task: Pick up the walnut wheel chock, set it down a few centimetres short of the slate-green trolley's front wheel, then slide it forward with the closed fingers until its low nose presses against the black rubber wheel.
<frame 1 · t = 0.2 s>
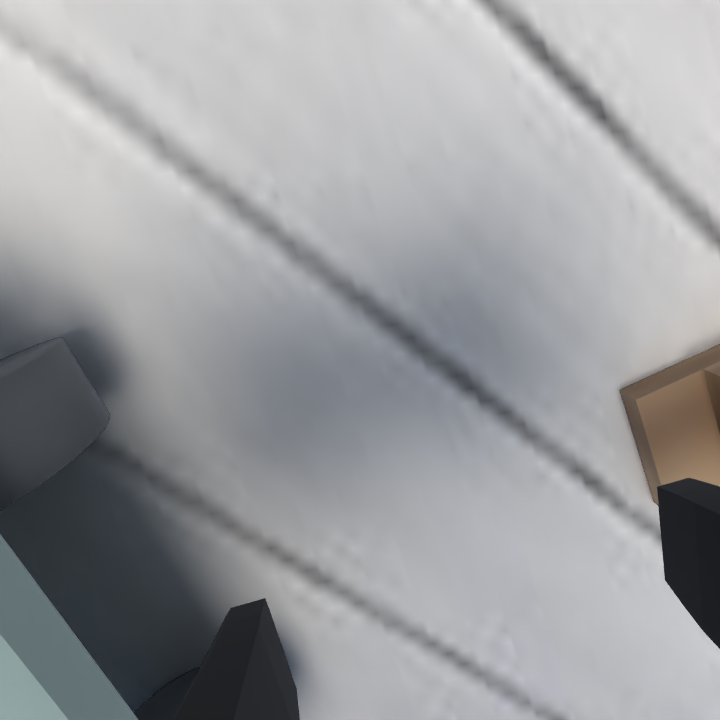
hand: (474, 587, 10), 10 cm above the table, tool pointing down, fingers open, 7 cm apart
trolley: (1, 613, 20), on the table
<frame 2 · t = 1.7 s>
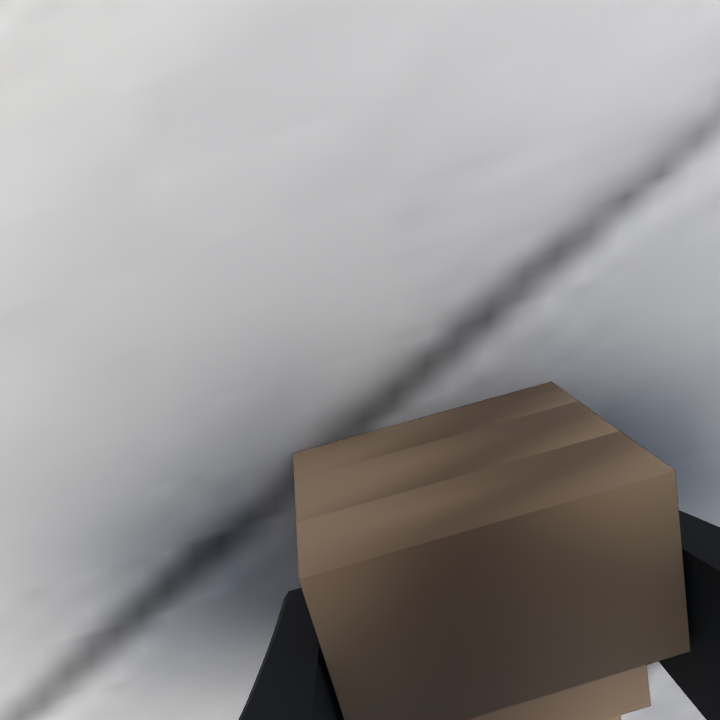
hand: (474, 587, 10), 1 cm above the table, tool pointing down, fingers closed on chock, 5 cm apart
chock: (459, 583, 12), on the table, touching gripper
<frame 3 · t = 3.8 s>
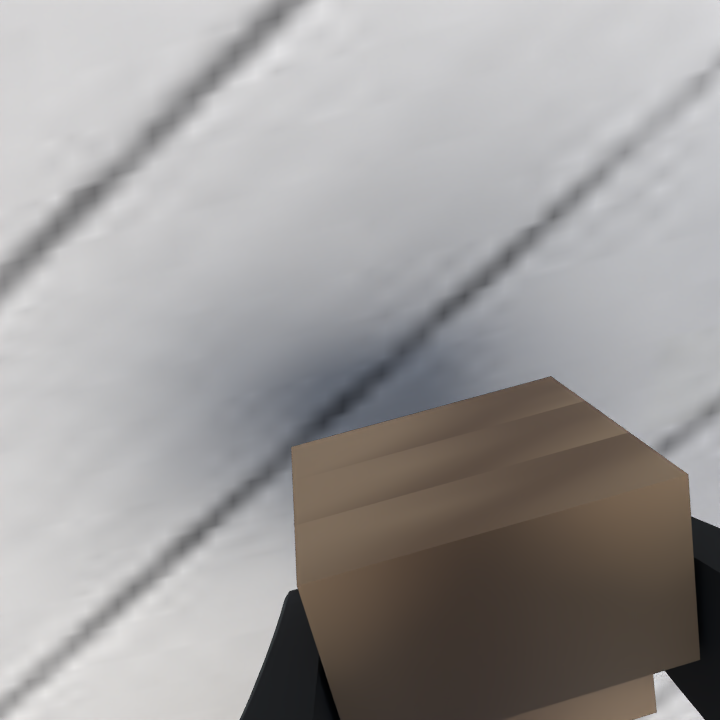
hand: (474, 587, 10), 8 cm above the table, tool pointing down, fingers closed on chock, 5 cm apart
chock: (460, 585, 12), point 7 cm above the table, touching gripper
when the fingers open (2 cm above the table, at t = 5.5 s): chock drops 1 cm, on the table.
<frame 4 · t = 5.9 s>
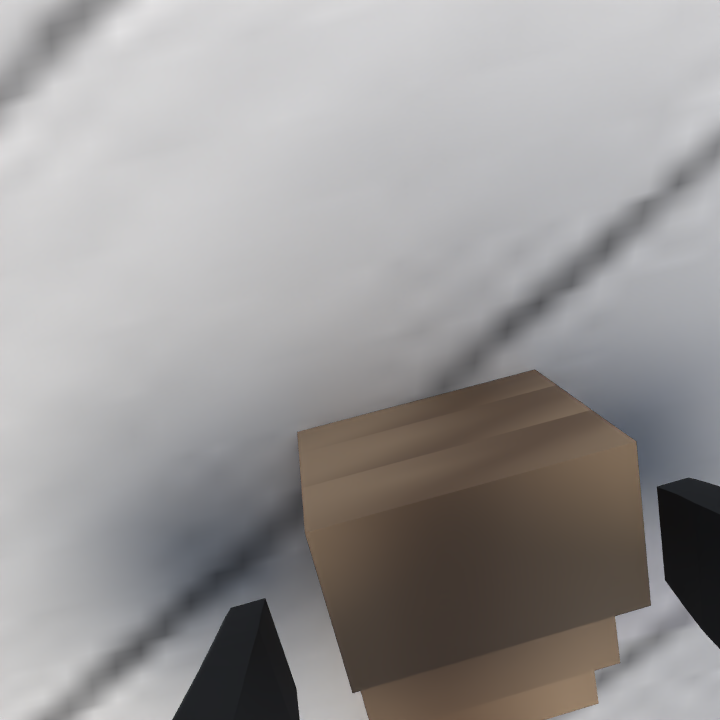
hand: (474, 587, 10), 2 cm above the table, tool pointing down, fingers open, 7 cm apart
chock: (448, 555, 13), on the table
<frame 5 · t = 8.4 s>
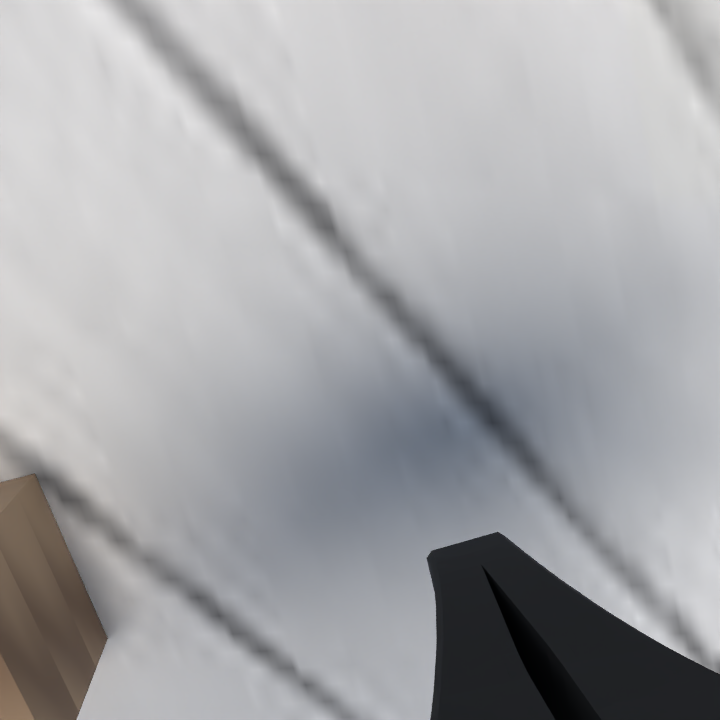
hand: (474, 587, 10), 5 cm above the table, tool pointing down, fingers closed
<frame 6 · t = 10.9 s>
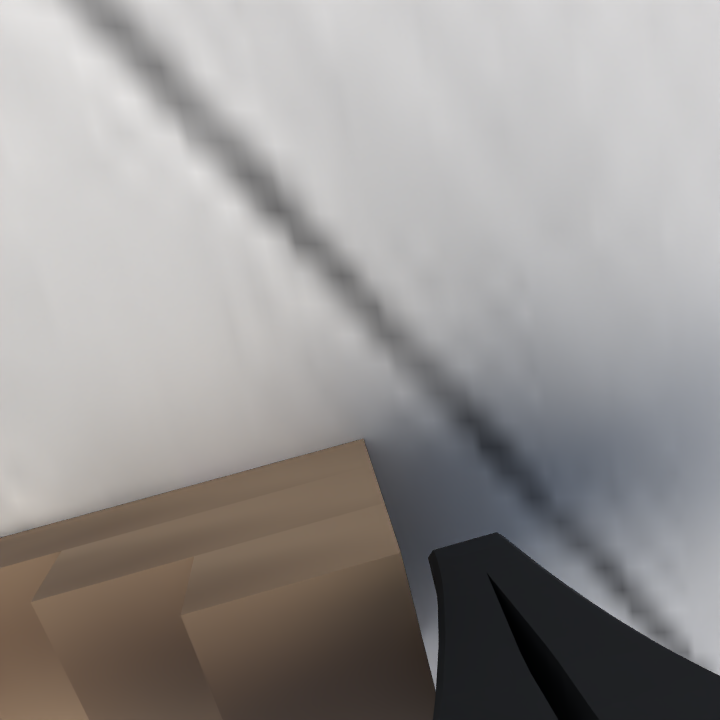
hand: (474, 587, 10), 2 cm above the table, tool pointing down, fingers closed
chock: (202, 594, 12), on the table, touching gripper
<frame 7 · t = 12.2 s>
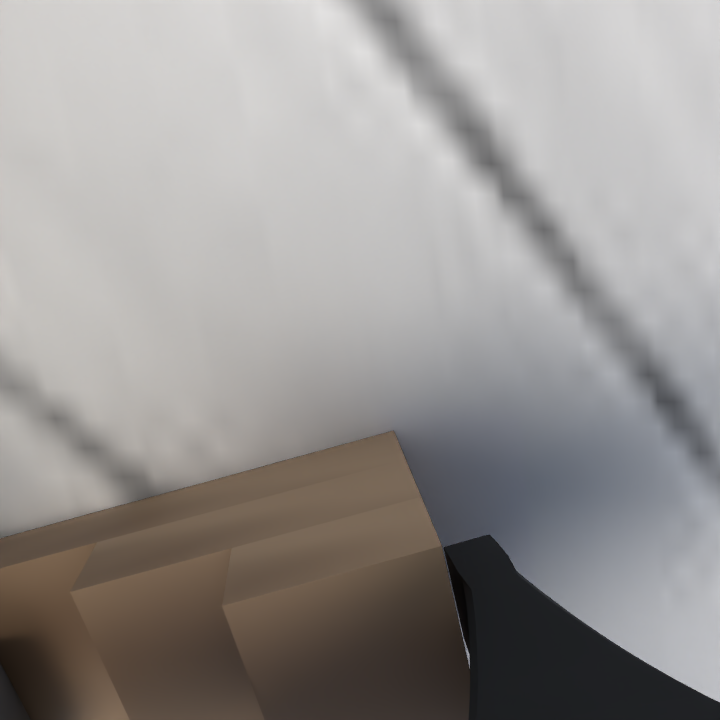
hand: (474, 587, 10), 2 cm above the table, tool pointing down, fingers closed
chock: (232, 587, 12), on the table, touching gripper, trolley
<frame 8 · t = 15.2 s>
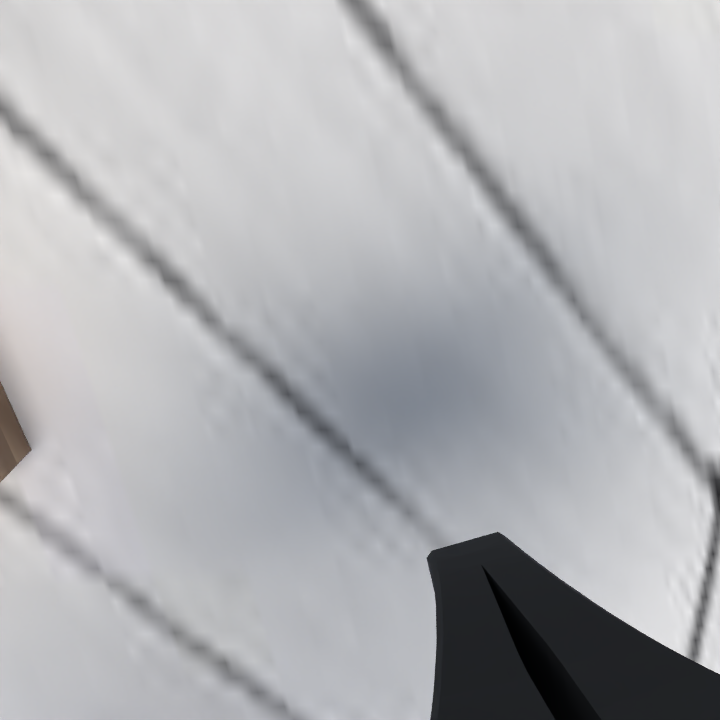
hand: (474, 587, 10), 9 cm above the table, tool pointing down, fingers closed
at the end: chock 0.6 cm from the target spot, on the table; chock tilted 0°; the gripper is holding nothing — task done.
